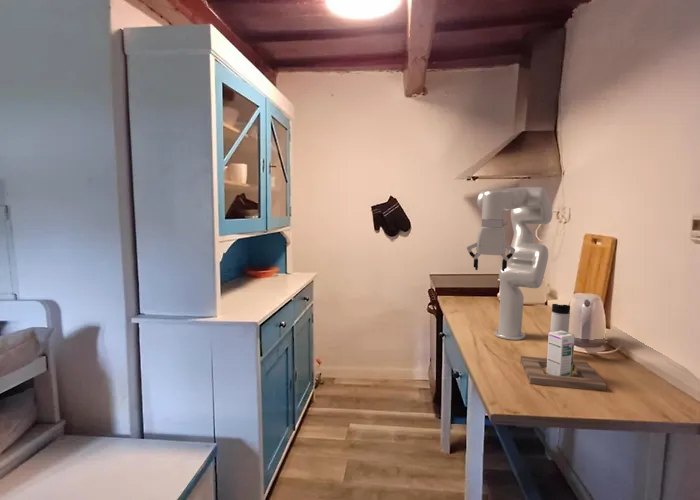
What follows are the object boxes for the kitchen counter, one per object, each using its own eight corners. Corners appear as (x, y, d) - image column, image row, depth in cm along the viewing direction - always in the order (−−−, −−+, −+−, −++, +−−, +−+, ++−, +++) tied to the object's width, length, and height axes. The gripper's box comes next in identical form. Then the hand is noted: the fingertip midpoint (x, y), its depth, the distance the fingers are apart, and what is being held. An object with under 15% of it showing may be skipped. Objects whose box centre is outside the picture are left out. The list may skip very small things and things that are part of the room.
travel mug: (549, 356, 165) (553, 304, 162) (548, 350, 171) (551, 300, 169) (567, 358, 163) (571, 306, 160) (565, 353, 169) (569, 302, 166)
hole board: (520, 361, 159) (520, 355, 159) (586, 367, 155) (586, 361, 154) (530, 383, 140) (530, 377, 140) (605, 391, 135) (606, 384, 135)
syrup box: (559, 379, 144) (563, 336, 142) (545, 372, 149) (548, 331, 147) (572, 376, 146) (575, 334, 144) (557, 370, 151) (560, 329, 150)
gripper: (515, 224, 163) (512, 269, 165) (467, 223, 167) (465, 267, 169) (518, 225, 156) (515, 273, 158) (468, 224, 159) (466, 270, 161)
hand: (489, 270), depth 163 cm, fingers open, 9 cm apart
